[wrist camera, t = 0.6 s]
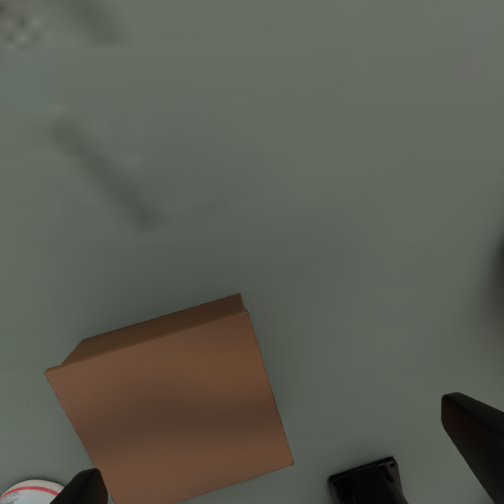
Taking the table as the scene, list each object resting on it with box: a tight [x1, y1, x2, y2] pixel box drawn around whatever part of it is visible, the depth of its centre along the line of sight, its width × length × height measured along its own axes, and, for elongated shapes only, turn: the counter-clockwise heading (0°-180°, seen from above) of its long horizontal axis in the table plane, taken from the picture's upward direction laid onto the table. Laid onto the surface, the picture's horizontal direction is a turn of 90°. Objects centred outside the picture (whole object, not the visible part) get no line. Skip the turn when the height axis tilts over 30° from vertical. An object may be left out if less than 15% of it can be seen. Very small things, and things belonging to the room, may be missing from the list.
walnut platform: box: [44, 293, 294, 504], centre depth 21 cm, size 13×13×4 cm
